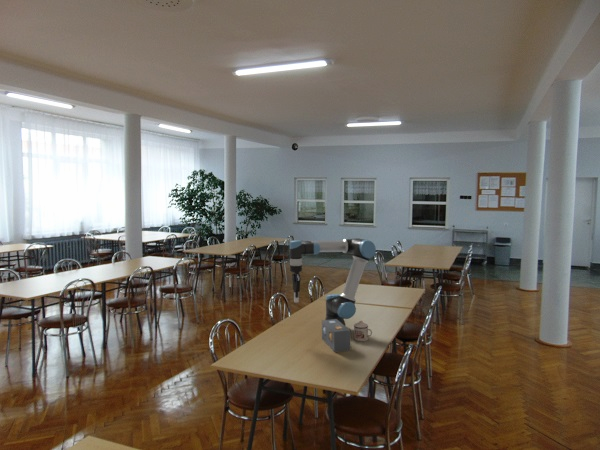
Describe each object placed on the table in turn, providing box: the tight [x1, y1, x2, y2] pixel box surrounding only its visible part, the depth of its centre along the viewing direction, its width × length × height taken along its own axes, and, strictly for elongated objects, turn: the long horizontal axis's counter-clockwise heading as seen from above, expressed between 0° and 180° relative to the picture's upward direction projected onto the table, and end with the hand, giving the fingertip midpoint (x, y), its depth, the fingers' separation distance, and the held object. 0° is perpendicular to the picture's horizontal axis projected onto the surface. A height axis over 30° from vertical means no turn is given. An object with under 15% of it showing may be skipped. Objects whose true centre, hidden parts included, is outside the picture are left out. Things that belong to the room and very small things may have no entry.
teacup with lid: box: [353, 320, 373, 342], centre depth 265 cm, size 12×9×12 cm
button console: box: [321, 319, 351, 353], centre depth 257 cm, size 10×24×12 cm, turn 14°
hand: (296, 301), depth 264 cm, fingers closed
